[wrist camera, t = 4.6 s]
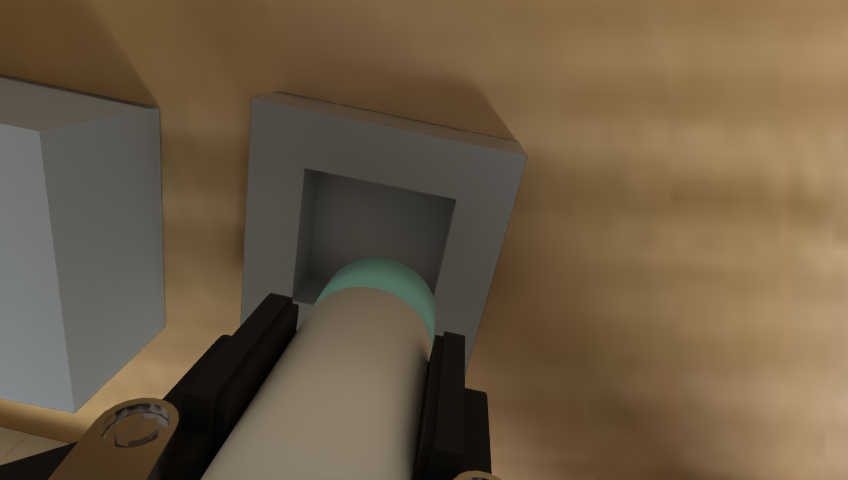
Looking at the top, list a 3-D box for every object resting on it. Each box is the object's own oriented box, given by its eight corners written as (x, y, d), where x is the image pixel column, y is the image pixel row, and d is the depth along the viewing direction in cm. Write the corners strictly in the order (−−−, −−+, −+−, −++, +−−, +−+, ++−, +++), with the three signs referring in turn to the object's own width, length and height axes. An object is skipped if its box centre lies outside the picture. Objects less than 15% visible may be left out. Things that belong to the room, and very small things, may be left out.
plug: (447, 271, 14) (404, 683, 5) (424, 369, 15) (353, 846, 6) (330, 245, 14) (53, 604, 5) (317, 345, 15) (79, 780, 6)
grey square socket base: (518, 141, 17) (527, 156, 15) (463, 340, 21) (464, 377, 18) (279, 91, 17) (251, 98, 15) (264, 300, 21) (240, 332, 18)
